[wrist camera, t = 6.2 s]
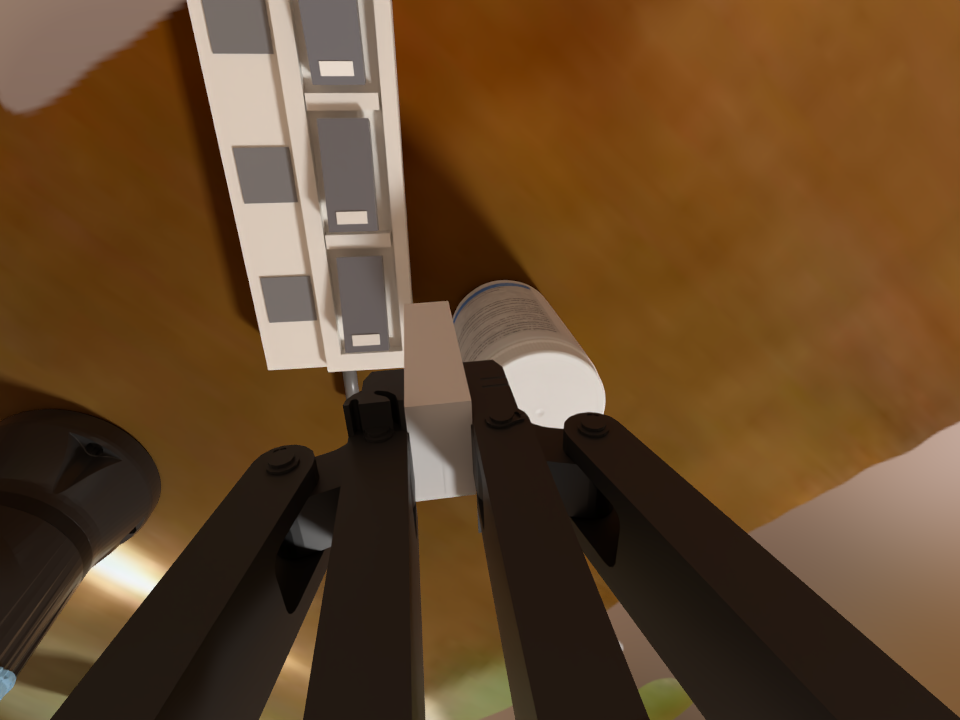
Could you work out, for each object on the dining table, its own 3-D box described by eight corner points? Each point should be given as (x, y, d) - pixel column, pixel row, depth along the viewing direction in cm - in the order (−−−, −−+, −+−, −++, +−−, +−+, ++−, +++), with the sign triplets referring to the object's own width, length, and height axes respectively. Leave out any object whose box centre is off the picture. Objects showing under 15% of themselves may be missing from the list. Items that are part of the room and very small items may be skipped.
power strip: (291, 406, 48) (279, 437, 43) (189, -88, 31) (153, -120, 27) (420, 397, 49) (421, 427, 44) (387, -82, 33) (384, -111, 28)
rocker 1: (315, 79, 32) (312, 85, 31) (291, -64, 28) (286, -63, 27) (366, 79, 33) (365, 85, 32) (350, -62, 28) (348, -61, 27)
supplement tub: (430, 345, 47) (438, 438, 33) (484, 256, 43) (516, 322, 30) (517, 387, 50) (555, 487, 37) (573, 308, 47) (636, 387, 34)
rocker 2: (332, 231, 35) (329, 232, 34) (320, 122, 33) (316, 118, 32) (378, 230, 36) (377, 231, 34) (370, 121, 34) (368, 117, 32)
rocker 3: (348, 349, 39) (345, 353, 38) (339, 257, 38) (336, 257, 36) (389, 346, 39) (388, 350, 38) (382, 255, 38) (381, 255, 36)
